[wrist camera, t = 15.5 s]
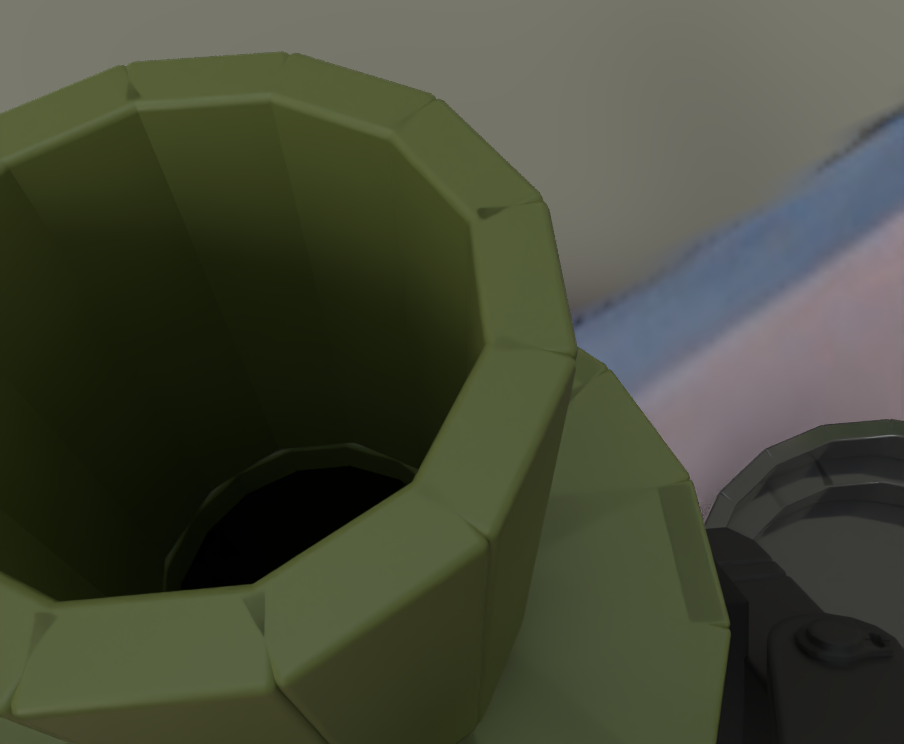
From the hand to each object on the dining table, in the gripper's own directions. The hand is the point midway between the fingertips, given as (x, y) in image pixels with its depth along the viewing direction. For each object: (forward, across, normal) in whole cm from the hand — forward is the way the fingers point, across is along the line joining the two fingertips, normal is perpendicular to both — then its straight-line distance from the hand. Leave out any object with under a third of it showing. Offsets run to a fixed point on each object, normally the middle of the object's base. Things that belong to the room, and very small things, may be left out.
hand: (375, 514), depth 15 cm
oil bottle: (+2, 0, -7) cm, 7 cm away
